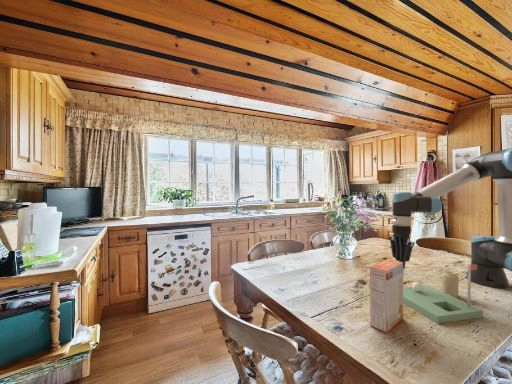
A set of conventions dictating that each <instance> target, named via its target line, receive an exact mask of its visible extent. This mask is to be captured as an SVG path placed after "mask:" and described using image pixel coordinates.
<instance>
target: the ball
mask: <svg viewBox="0 0 512 384" xmlns="http://www.w3.org/2000/svg"><path fill="white" fill-rule="evenodd" d="M423 286H424V285H423V284H422V283H421V282H419V281H414V282H412V285H411V287H412V288H413V289H414V290H415V291H417V292H420V291H422V290H423Z"/></svg>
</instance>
